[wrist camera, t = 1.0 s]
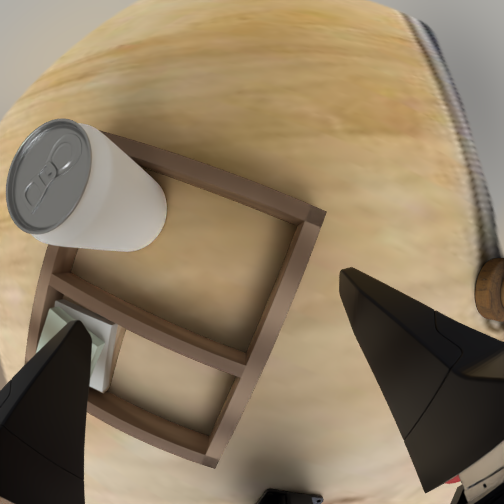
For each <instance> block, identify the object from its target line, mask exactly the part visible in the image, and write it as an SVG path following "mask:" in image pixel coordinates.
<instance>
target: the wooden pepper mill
mask: <svg viewBox="0 0 504 504" xmlns="http://www.w3.org/2000/svg"><path fill="white" fill-rule="evenodd" d="M475 300H476V306H477V309H478V311H479V313H480V314H481V315H482V316H483V317H484V318H487V319H492V320H496V321H504V258H493V259H491V260H489V261H487V262H486V263H485V265H484V266H483V267H482V269H481V271H480V273H479V276H478V279H477V282H476V289H475Z"/></svg>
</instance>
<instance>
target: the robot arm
mask: <svg viewBox="0 0 504 504" xmlns="http://www.w3.org/2000/svg"><path fill="white" fill-rule="evenodd" d="M339 293H340V297H341V299H342V302H343V305H344V308H345V310H346V313H347V316H348V318H349V321H350V324H351V327H352V329H353V332H354V335H355V337H356V339H357V341H358V343H359V345H360V347H361V349H362V351H363V353H364V355H365V357H366V359H367V361H368V363H369V365H370V367H371V369H372V372H373V374H374V376H375V378H376V380H377V382H378V384H379V386H380V388H381V391H382V393H383V395H384V397H385V399H386V401H387V404H388V406H389V408H390V410H391V413H392V415H393V417H394V419H395V421H396V424H397V426H398V428H399V431H400V433H401V435H402V438H403V440H404V443H405V445H406V447H407V450H408V452H409V455H410V457H411V459H412V462H413V464H414V467H415V469H416V472H417V474H418V477H419V479H420V482H421V485H422V487H423V490H424V492H425V493H427V492H429V491H431V490H433V489H435V488H437V487H439V486H440V485H442V484H444V483H446V482H447V481H449V480H451V479H453V478H454V477H456V476H457V475H458V476H459V478H460V480H461V483H462V485H461V486H459V487H457V490H456V492H455V494H454V497H453V499H452V501H451V504H504V342H502V341H499V340H497V339H495V338H493V337H490V336H488V335H486V334H483V333H481V332H479V331H477V330H474V329H472V328H470V327H468V326H465V325H463V324H461V323H459V322H457V321H455V320H453V319H451V318H449V317H447V316H445V315H443V314H441V313H440V312H438V311H434V309H432V308H430V307H428V306H426V305H425V304H423V303H421V302H419V301H417V300H415V299H413V298H411V297H409V296H408V295H406V294H404V293H402V292H400V291H398V290H396V289H394V288H392V287H390V286H388V285H386V284H384V283H383V282H381V281H379V280H377V279H375V278H373V277H371V276H369V275H367V274H365V273H363V272H361V271H359V270H357V269H355V268H353V267H350V268H346V269H342V270H341V271H340V276H339ZM91 353H92V337H91V335H90V333H89V332H88V330H87V329H86V327H85V326H84V324H83V323H82V321H80V320H72V321H69V322H68V323H67V324H66V325H65V326H64V327H63V328H62V329H61V330H60V331H59V332H58V333H57V334H56V335H55V336H53V337H52V338H51V339H50V340H49V341H48V342H47V343H46V344H45V345H44V346H43V347H42V348H41V349H40V350H39V351H38V352H37V353H36V354H35V355H34V356H33V357H32V358H31V359H30V360H29V361H28V362H27V363H26V364H25V365H24V366H23V367H22V368H21V370H20V371H19V372H18V373H17V374H16V375H15V376H14V377H13V378H12V380H10V381H9V382H8V383H7V384H6V385H5V386H4V388H3V389H2V390H1V391H0V504H85V496H84V444H85V426H86V413H87V403H88V393H89V385H90V374H91ZM322 502H323V497H322V496H316V495H308V494H300V493H293V492H287V491H281V490H275V489H267V490H266V491H265V492H264V494H263V495H262V497H261V498H260V499H259V501H258V502H257V504H321V503H322Z"/></svg>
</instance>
